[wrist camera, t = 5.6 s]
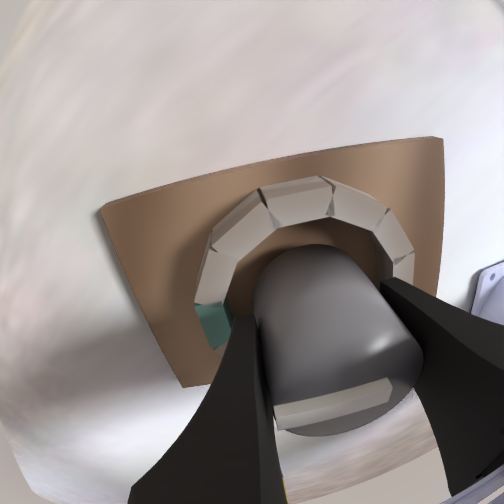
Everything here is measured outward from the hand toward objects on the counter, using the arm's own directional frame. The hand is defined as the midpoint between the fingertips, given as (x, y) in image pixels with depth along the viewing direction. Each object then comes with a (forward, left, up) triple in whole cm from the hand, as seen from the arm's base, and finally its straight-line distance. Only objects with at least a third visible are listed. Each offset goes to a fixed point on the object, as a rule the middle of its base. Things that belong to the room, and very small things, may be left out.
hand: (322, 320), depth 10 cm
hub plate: (0, 0, -3) cm, 3 cm away
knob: (0, 0, -2) cm, 2 cm away
